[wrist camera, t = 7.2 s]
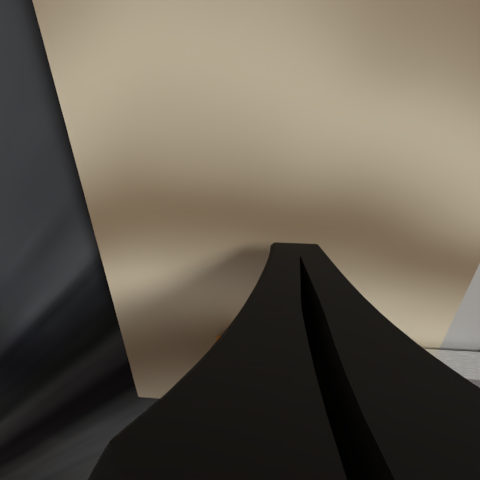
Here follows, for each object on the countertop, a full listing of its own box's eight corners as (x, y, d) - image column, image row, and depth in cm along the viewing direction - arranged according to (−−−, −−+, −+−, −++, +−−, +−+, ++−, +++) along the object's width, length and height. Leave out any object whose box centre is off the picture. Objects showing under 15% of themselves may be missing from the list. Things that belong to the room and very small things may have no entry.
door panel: (396, 386, 16) (407, 416, 15) (148, 370, 17) (138, 397, 15) (617, -159, 7) (702, -209, 5) (34, -138, 7) (-15, -177, 6)
